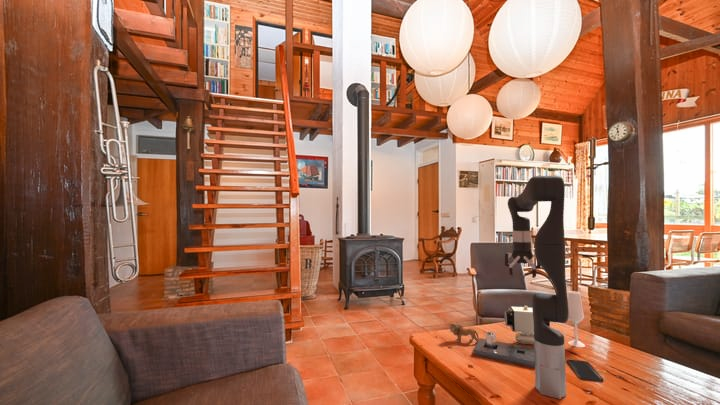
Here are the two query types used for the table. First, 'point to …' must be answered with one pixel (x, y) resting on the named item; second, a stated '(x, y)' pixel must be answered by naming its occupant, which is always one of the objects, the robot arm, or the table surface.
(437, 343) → the table surface
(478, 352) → the grey board with holes
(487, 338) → the flashlight
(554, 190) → the robot arm
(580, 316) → the champagne flute
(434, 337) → the table surface
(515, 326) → the security camera
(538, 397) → the table surface
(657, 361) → the table surface
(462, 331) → the lion figurine
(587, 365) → the phone
